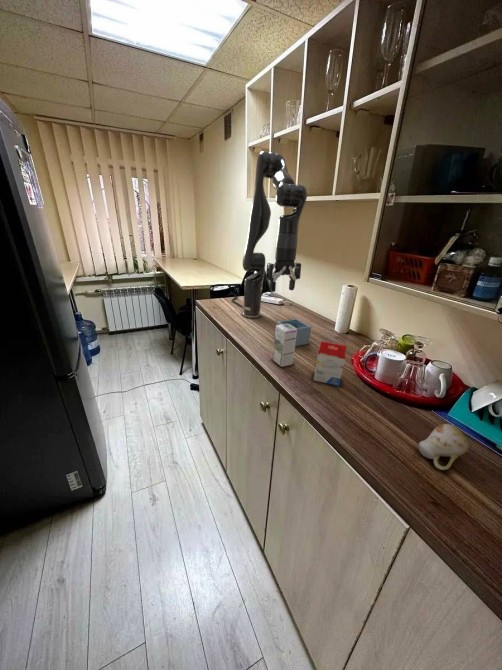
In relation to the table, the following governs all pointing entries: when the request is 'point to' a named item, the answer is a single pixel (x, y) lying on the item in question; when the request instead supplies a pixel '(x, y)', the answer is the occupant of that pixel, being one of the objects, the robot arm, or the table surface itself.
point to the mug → (444, 445)
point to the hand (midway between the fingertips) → (282, 290)
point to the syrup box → (284, 344)
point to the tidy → (299, 330)
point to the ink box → (330, 363)
